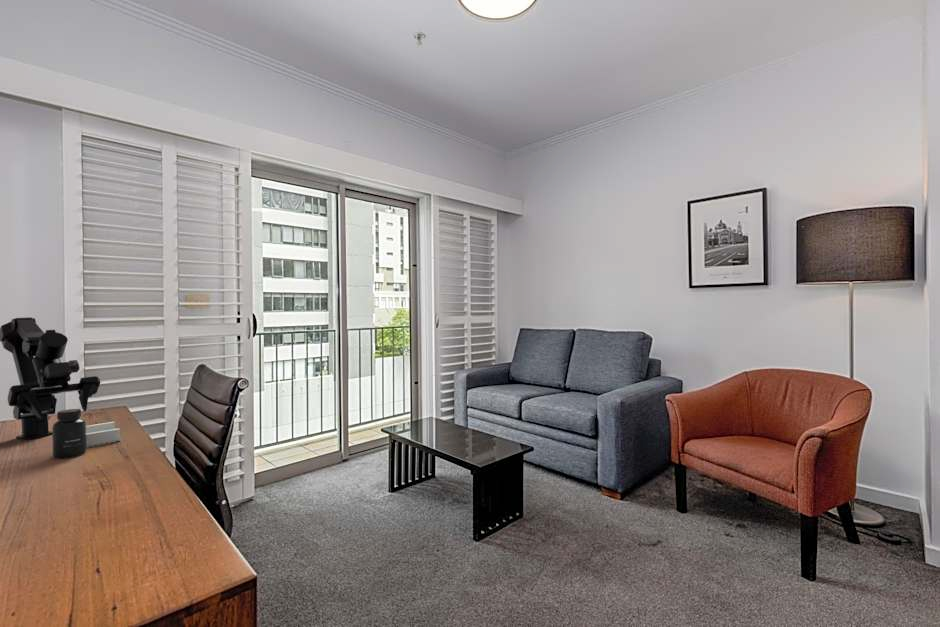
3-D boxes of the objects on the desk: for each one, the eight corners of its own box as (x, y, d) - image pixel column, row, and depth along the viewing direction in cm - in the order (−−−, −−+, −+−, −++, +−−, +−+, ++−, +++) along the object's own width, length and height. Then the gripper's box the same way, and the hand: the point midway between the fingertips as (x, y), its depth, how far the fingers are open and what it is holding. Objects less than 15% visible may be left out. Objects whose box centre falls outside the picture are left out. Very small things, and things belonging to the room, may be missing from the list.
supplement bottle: (71, 459, 119) (69, 413, 119) (45, 459, 119) (43, 414, 119) (93, 450, 126) (92, 407, 126) (69, 450, 126) (67, 407, 126)
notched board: (75, 449, 127) (75, 436, 127) (72, 440, 136) (71, 428, 136) (120, 441, 134) (119, 429, 134) (114, 432, 143) (114, 421, 143)
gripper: (8, 355, 119) (22, 402, 113) (96, 348, 135) (112, 389, 129) (2, 382, 124) (14, 429, 118) (88, 373, 139) (103, 413, 133)
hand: (64, 414), depth 124 cm, fingers open, 9 cm apart
